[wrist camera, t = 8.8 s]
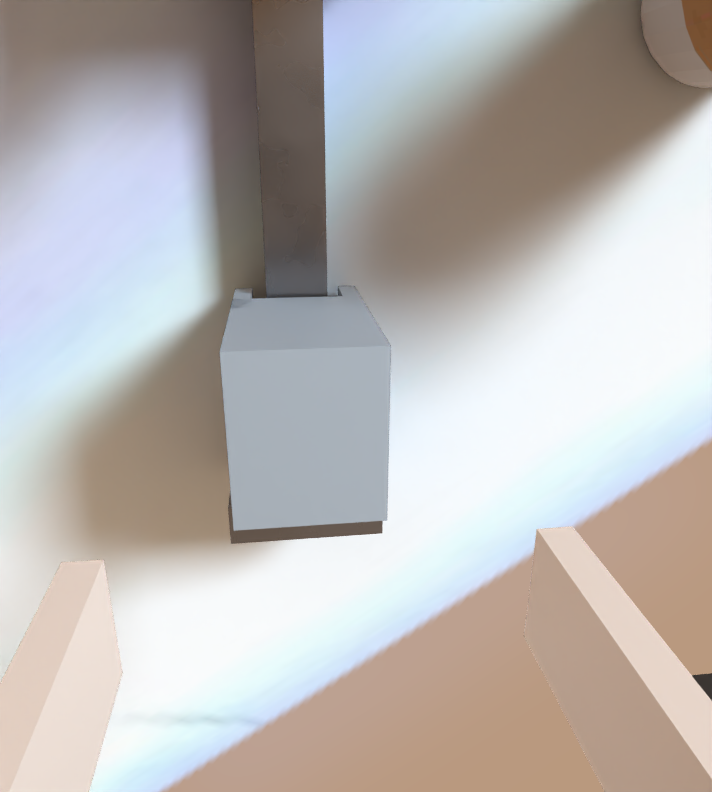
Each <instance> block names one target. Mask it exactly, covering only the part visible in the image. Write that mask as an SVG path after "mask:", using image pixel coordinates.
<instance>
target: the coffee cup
mask: <svg viewBox="0 0 712 792" xmlns="http://www.w3.org/2000/svg"><path fill="white" fill-rule="evenodd" d="M641 23H642V30H643V37H644V39H645V42H646V44H647V47H648V49H649V51H650V54H651V55H652V56H653V58H654V59H655V60H656V62H657V63H658V64H659V65H660V67H661V68H662V69H663V70H664V72H665V73H666V74H668V75H669V76H671V77H672V78H674V79H675V80H677V81H679V82H680V83H682V84H686V85H690V86H694V87H698V88H708V87H712V0H642V5H641Z"/></svg>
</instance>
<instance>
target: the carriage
mask: <svg viewBox="0 0 712 792" xmlns="http://www.w3.org/2000/svg"><path fill="white" fill-rule="evenodd" d="M390 363H391V345H390V344H389V342H388V340H387V339H386V337H385V335H384V334H383V332H382V330H381V329H380V327H379V326H378V324H377V322H376V321H375V319H374V317H373V316H372V314H371V312H370V311H369V309H368V307H367V306H366V304H365V303H364V301H363V299H362V298H361V296H360V294H359V293H358V291H357V289H356V288H355V286H338V296H332V297H293V298H254V299H253V290H252V288H241V289H235V293H234V297H233V300H232V304H231V308H230V312H229V316H228V320H227V324H226V328H225V332H224V336H223V340H222V344H221V348H220V364H221V376H222V389H223V402H224V414H225V427H226V440H227V452H228V465H229V478H230V490H231V503H232V516H233V528H234V531H236V530H251V529H266V528H281V527H296V526H311V525H326V524H341V523H356V522H371V521H386V520H387V504H388V457H389V410H390Z"/></svg>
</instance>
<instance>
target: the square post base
mask: <svg viewBox="0 0 712 792" xmlns="http://www.w3.org/2000/svg"><path fill="white" fill-rule="evenodd" d="M228 511H229V524H230V536H231V544H233V543H248V542H262V541H277V540H291V539H306V538H320V537H335V536H349V535H364V534H378V533H382V521H371V522H356V523H341V524H326V525H311V526H296V527H281V528H266V529H251V530H236V531H234V528H233V516H232V503H231V490H230V497H229V506H228Z"/></svg>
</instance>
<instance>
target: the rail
mask: <svg viewBox="0 0 712 792" xmlns="http://www.w3.org/2000/svg"><path fill="white" fill-rule="evenodd" d="M252 13H253V33H254V53H255V73H256V93H257V114H258V134H259V154H260V174H261V194H262V214H263V234H264V254H265V274H266V294H267V298H293V297H327V253H326V188H325V124H324V59H323V0H252Z"/></svg>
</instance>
